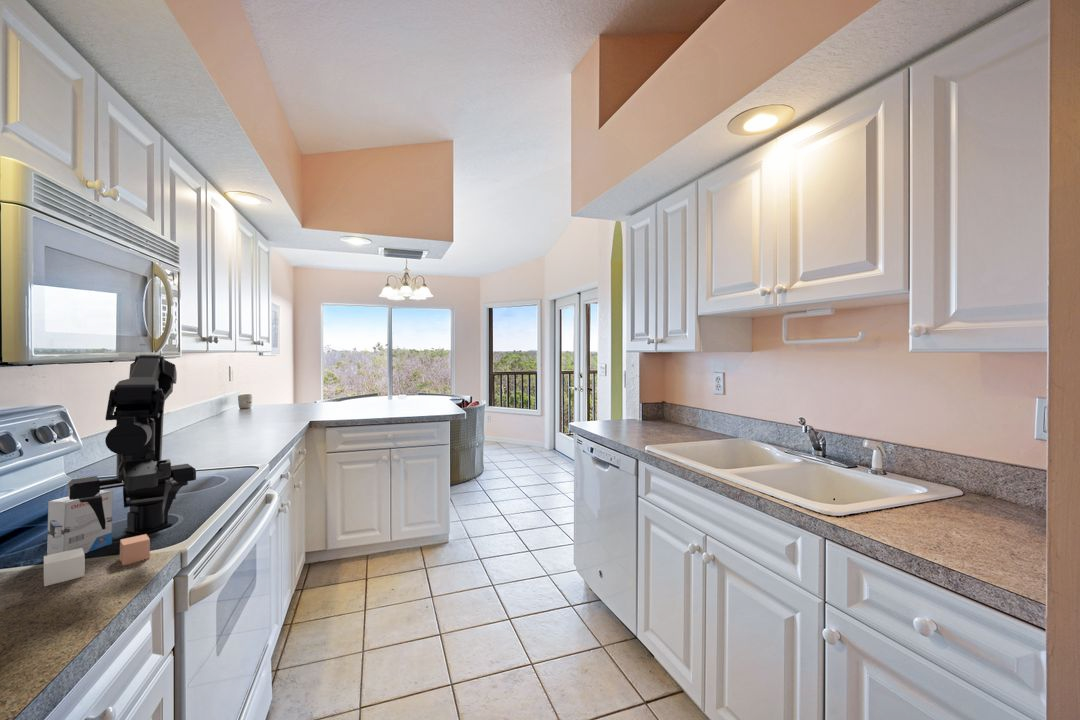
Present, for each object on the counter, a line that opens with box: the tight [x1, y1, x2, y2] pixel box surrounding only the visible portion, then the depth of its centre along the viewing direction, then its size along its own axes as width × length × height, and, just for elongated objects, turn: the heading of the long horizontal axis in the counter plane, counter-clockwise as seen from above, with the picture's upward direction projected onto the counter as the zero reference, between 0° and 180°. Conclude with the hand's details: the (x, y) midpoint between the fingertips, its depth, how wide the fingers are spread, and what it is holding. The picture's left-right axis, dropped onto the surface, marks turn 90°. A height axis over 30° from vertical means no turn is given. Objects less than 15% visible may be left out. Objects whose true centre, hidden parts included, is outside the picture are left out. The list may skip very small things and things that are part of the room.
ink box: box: [46, 489, 114, 556], centre depth 93 cm, size 9×5×12 cm, turn 168°
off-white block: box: [43, 548, 86, 587], centre depth 83 cm, size 5×5×4 cm
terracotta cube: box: [119, 533, 151, 566], centre depth 90 cm, size 4×4×4 cm
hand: (135, 522), depth 90 cm, fingers open, 9 cm apart
